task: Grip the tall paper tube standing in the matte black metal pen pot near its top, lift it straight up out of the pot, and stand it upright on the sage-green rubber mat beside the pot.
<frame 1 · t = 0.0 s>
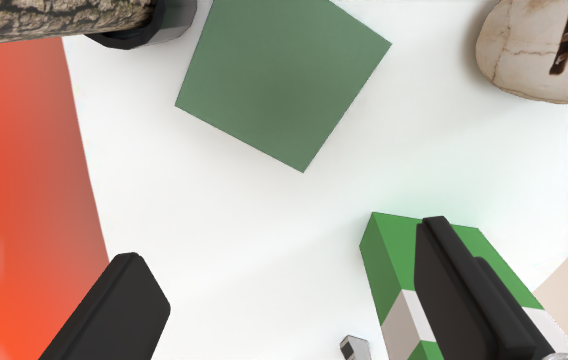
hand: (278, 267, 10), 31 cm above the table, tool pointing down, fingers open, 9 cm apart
mat: (276, 76, 37), on the table
hardback book: (416, 236, 49), on the table
coin bank: (551, 31, 33), on the table
vintage mobile phone: (353, 341, 65), on the table
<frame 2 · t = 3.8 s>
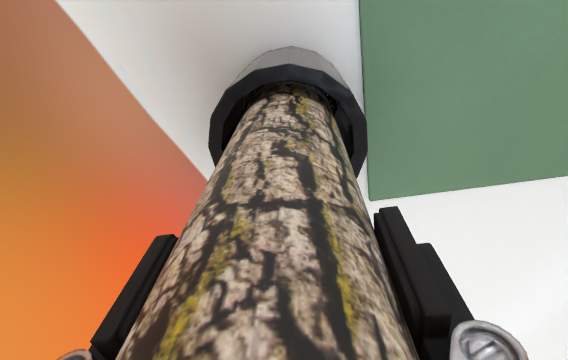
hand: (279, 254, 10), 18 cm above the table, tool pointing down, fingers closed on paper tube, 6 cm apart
mat: (484, 86, 25), on the table
pen pot: (290, 108, 26), on the table
paper tube: (290, 107, 26), resting in pen pot, touching gripper
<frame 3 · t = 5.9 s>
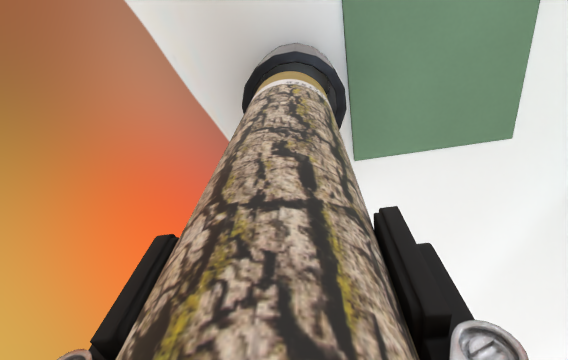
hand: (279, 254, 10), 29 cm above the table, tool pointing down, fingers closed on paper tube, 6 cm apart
mat: (433, 71, 34), on the table
pen pot: (295, 88, 36), on the table
paper tube: (290, 108, 26), point 11 cm above the table, touching gripper
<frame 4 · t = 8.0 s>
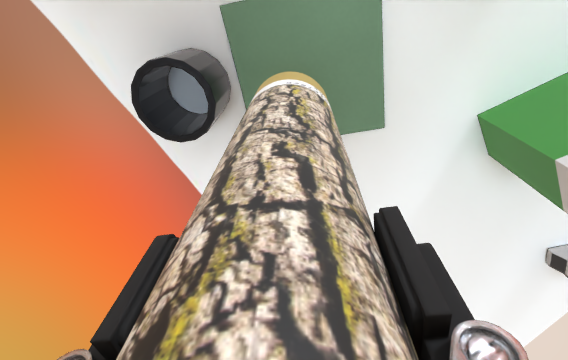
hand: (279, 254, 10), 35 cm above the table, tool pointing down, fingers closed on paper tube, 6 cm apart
mat: (309, 71, 41), on the table
pen pot: (196, 86, 43), on the table
hardback book: (546, 106, 42), on the table
paper tube: (290, 108, 26), point 17 cm above the table, touching gripper
vintage mobile phone: (559, 251, 55), on the table
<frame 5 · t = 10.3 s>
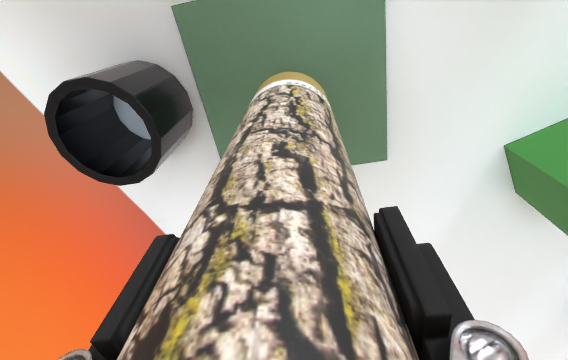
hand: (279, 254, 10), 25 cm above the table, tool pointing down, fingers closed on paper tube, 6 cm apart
mat: (291, 90, 32), on the table
pen pot: (149, 107, 34), on the table
paper tube: (290, 108, 26), point 6 cm above the table, touching gripper
when the fingers open (19 cm above the table, at t = 12.2 s): paper tube stays where it is, resting on mat.
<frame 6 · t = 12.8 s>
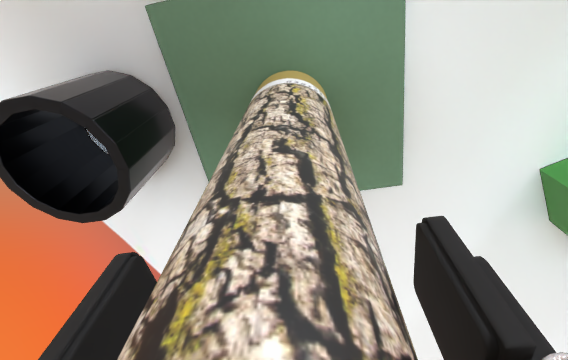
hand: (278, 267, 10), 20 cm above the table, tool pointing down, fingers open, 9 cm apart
mat: (291, 106, 27), on the table
pen pot: (124, 124, 29), on the table
paper tube: (290, 107, 27), resting on mat
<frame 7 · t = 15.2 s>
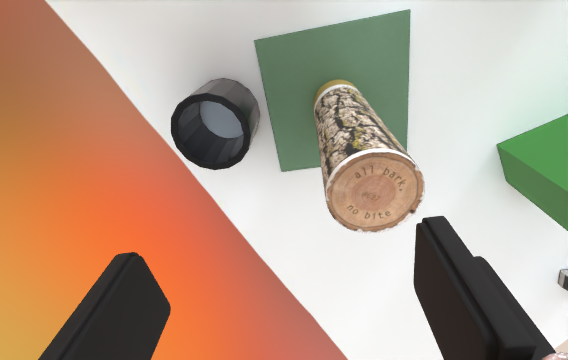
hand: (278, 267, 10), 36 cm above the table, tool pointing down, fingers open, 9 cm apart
mat: (336, 101, 43), on the table
pen pot: (226, 113, 44), on the table
hardback book: (564, 137, 44), on the table
paper tube: (336, 102, 42), resting on mat
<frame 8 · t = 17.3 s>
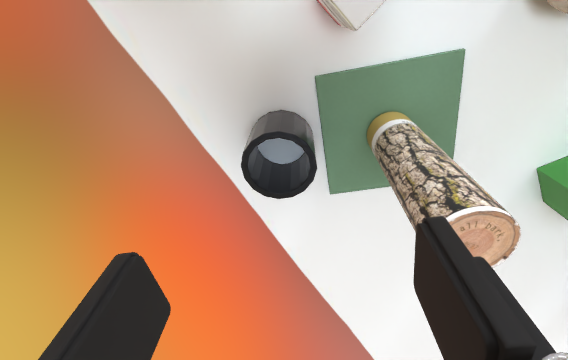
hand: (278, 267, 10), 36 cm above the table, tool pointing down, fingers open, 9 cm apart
mat: (387, 130, 45), on the table
pen pot: (281, 141, 47), on the table
paper tube: (387, 131, 45), resting on mat
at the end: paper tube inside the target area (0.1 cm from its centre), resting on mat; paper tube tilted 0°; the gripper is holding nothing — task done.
